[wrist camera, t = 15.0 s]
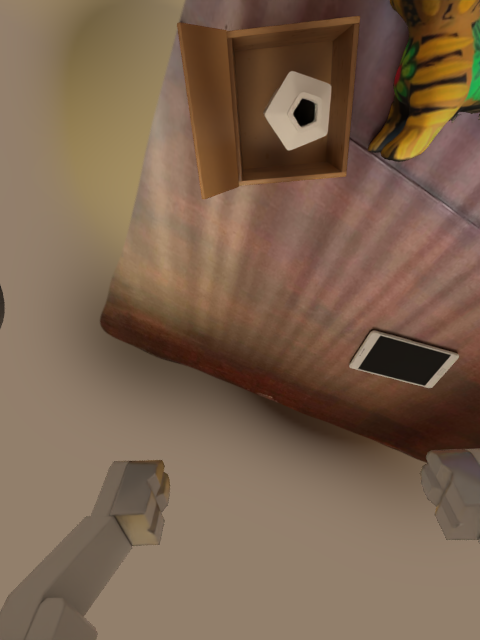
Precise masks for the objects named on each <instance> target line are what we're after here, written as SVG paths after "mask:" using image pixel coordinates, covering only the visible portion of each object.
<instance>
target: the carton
mask: <svg viewBox="0 0 480 640" xmlns="http://www.w3.org/2000/svg"><path fill="white" fill-rule="evenodd" d="M359 23H360V16H353V17H344V18H336V19H327V20H319V21H310V22H302V23H293V24H285V25H276V26H267V27H259V28H250V29H242V30H233V31H226V34H227V47H228V59H229V71H230V84H231V96H232V108H233V120H234V133H235V145H236V157H237V169H238V182H239V186H242V185H254V184H265V183H277V182H288V181H300V180H311V179H323V178H334V177H345V176H346V171H347V160H348V148H349V137H350V126H351V115H352V103H353V92H354V81H355V69H356V58H357V47H358V35H359ZM291 71H294V72H297V73H300V74H303V75H306V76H309V77H312V78H314V79H317V80H320V81H323V82H326V83H328V84H330V85H331V100H330V112H329V123H328V132H327V135H326V136H324V137H322V138H320V139H317V140H315V141H312V142H310V143H307V144H305V145H303V146H300V147H298V148H295V149H293V150H287V149H286V148H285V146H284V145H283V143H282V142H281V140H280V139H279V137H278V135H277V134H276V133H275V131H274V130H273V128H272V127H271V125H270V124H269V122H268V121H267V119H266V117H265V116H264V114H263V112H264V109H265V108H266V106H267V104H268V103H269V101H270V99H271V97H272V96H273V94H274V92H275V91H276V89H277V88H280V87H281V85H282V83H283V82H284V80H285V78H286V76H287V75H288V73H289V72H291Z"/></svg>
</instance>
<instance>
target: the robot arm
mask: <svg viewBox="0 0 480 640" xmlns="http://www.w3.org/2000/svg"><path fill="white" fill-rule="evenodd" d="M426 459H427V461H428V463H427V464H425V465H424V466H422V469H421V473H420V475H421V483H422V487H423V490H424V492H425V495H426V496H427V499H428V500H429V501H431V502H432V503H433V504H434V505H435V506H436V511H435V516H436V518H437V521H438V523H439V525H440V527H441V529H442V531H443V533H444V535H445V538H446V540H479V541H478V542H479V543H480V449H452V450H433V451H430V452H428V453H427V456H426ZM164 467H165V466H164V463H163V461H162V460H148V461H114V462H113V464H112V465H111V466H110V468H109V470H108V473H107V476H106V478H105V481H104V483H103V486H102V488H101V491H100V494H99V496H98V499H97V502H96V504H95V507H94V509H93V512H92V514H91V516H89V517H85V518H84V519H83V520H82V521H81V522H80V523H79V524H78V525H77V526H76V527H75V528H74V529H73V530H72V531H71V533H70V534H68V535H67V536H66V537H65V538H64V539H63V541H62V542H61V543H60V544H59V545H58V546H57V547H56V548H55V549H54V550H53V551H52V552H51V553H50V554H49V555H48V556H47V557H46V558H45V559H44V560H43V561H42V562H41V563H40V564H39V565H38V566H37V567H36V568H35V569H34V570H33V571H32V572H31V573H30V574H29V575H28V576H27V577H26V578H25V579H24V580H23V581H22V582H21V583H20V584H19V585H18V586H17V587H16V588H15V589H14V590H13V592H11V594H10V595H9V596H8V597H7V600H6V602H5V603H4V605H3V608H2V610H1V612H0V640H96V638H97V631H96V628H95V627H94V626H93V625H92V624H91V623H90V622H89V621H87V620H86V619H85V618H84V615H85V614H86V612H87V611H88V610H89V608H90V607H91V605H92V604H93V602H94V601H95V600H96V598H97V597H98V596H99V594H100V593H101V591H102V590H103V589H104V587H105V586H106V584H107V582H108V581H109V580H110V579H111V577H112V576H113V574H114V573H115V571H116V570H117V569H118V567H119V566H120V565H121V563H122V562H123V560H124V559H125V557H126V556H127V555H128V553H129V552H130V550H131V549H132V546H141V545H159V544H160V540H161V536H162V531H163V526H164V518H163V516H162V513H161V512H162V511H163V510H164V509H165V508H166V507H167V506H168V501H169V495H170V481H169V477H168V474H166V473H165V472H164Z"/></svg>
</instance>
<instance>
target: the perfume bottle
mask: <svg viewBox="0 0 480 640" xmlns="http://www.w3.org/2000/svg"><path fill="white" fill-rule="evenodd" d="M330 100H331V85H330V84H328V83H326V82H323V81H320V80H317V79H314V78H312V77H309V76H306V75H303V74H300V73H297V72H294V71H291V72H289V73H288V75H287V76H286V78H285V80H284V82H283V83H282V85H281V87H280V88H277V89H276V91H275V92H274V94H273V96H272V97H271V99H270V101H269V103H268V104H267V106H266V108H265V109H264V112H263V114H264V116H265V117H266V119H267V121H268V122H269V124H270V125H271V127H272V128H273V130H274V131H275V133H276V134H277V135H278V137H279V139H280V140H281V142H282V143H283V145H284V146H285V148H286V149H287V150H293V149H295V148H298V147H300V146H303V145H305V144H307V143H310V142H312V141H315V140H317V139H320V138H322V137H324V136H326V135H327V132H328V123H329V112H330Z"/></svg>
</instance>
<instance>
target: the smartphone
mask: <svg viewBox="0 0 480 640" xmlns="http://www.w3.org/2000/svg"><path fill="white" fill-rule="evenodd" d="M458 358H459V355H458V354H457V353H455V352H451V351H447V350H444V349H440V348H437V347H433V346H429V345H426V344H422V343H418V342H415V341H411V340H409V339H404V338H401V337H398V336H394V335H390V334H386V333H382V332H379V331H375V330H373V331H371V332H370V333H369V335H368V336H367V338H366V339H365V341H364V343H363V344H362V346H361V347H360V349H359V350H358V352H357V353H356V355H355V356H354V358H353V359H352V361H351V363H350V364H349V367H350V368H352V369H356V370H360V371H364V372H368V373H372V374H376V375H380V376H384V377H388V378H392V379H396V380H400V381H404V382H407V383H411V384H415V385H419V386H423V387H427V388H432V387H433V386H434V385H435V384H436V383H437V382H438V381H439V379H440V378H441V377H442V376H443V375H444V374H445V373H446V371H447V370H448V369H449V368H450V367H451V366H452V365H453V364H454V362H455V361H456V360H457V359H458Z"/></svg>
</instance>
